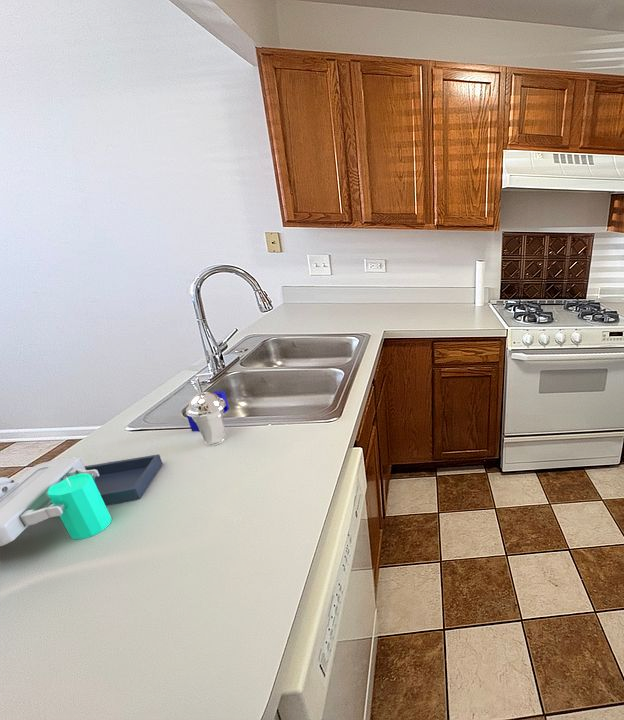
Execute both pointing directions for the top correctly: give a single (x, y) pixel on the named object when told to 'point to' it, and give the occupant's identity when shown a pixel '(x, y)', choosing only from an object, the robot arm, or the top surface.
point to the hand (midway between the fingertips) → (80, 490)
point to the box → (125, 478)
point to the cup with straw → (208, 414)
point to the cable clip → (222, 395)
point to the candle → (80, 506)
